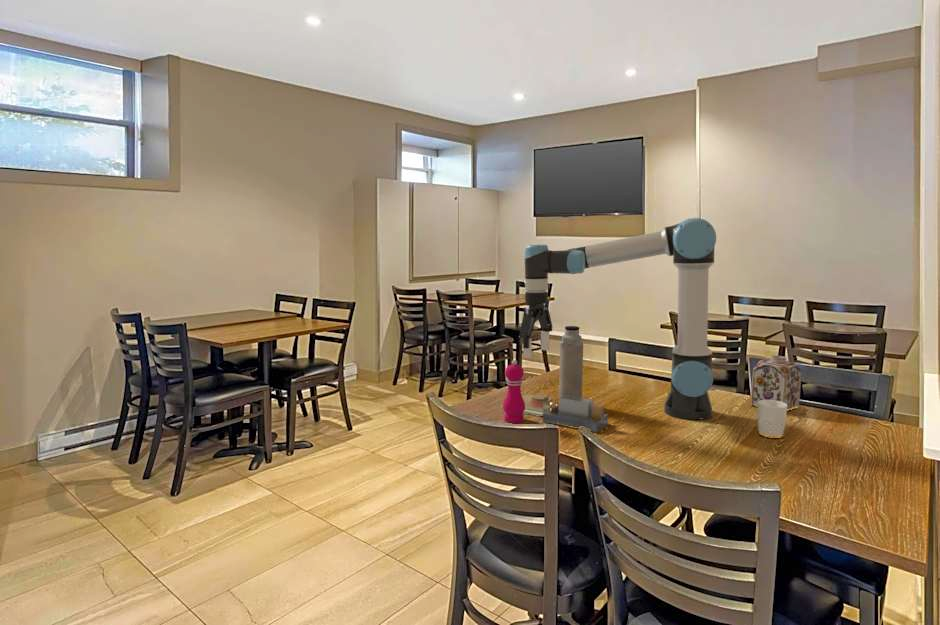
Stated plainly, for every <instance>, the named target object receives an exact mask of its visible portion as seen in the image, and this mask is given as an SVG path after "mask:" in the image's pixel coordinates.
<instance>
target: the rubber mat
mask: <svg viewBox="0 0 940 625" xmlns="http://www.w3.org/2000/svg"><path fill="white" fill-rule="evenodd" d="M548 410H549V409H548ZM548 410H546V411H548ZM546 411H545V412H546ZM523 413H524V414H523ZM523 413H522V414H523V415H528V414H531V415H530V416H534V415H538V416H537V417H539V416H543V413H544V412H539V411H533V410H528V409H525V410H524V412H523Z"/></svg>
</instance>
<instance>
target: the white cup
mask: <svg viewBox="0 0 940 625" xmlns="http://www.w3.org/2000/svg"><path fill="white" fill-rule="evenodd" d="M787 408H788V405H787V404H786V403H784V402H780V401H776V400H760V401H758V407H757V425H758V426H757V432H758V431H759V432H760V433H763V434H767V435H775V436H776V435H782V434H783V435H784V432H785V428H786V427H785V426H786V421H787V414H788V412H787Z"/></svg>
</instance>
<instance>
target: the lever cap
mask: <svg viewBox="0 0 940 625" xmlns="http://www.w3.org/2000/svg"><path fill="white" fill-rule="evenodd" d="M522 398H523V400H524V403H525V409H528V410H533V411H539V412H545V411H546V410H548V409H550V402H553V398H551V397H549V395H544V394H538V393H537V394H535V395H534V394H528V393H526V394H523V395H522Z"/></svg>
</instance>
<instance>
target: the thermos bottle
mask: <svg viewBox="0 0 940 625" xmlns="http://www.w3.org/2000/svg"><path fill="white" fill-rule="evenodd" d="M564 329H565V330H564V334H563V335H562V336H561V337H562V338H561V341H560V342H559V371H558V372H559V373H558V374H559V377H558V380H559V381H558V383H559V385H558V399H559V398H560V397H561V396H563V395H568V396H574V397H580V398H583V375H584V374H583V371H584V370H583V368H584V366H583V365H584V360H583V359H584V342H582V335H580V326H576V325H566V326H565V327H564Z"/></svg>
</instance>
